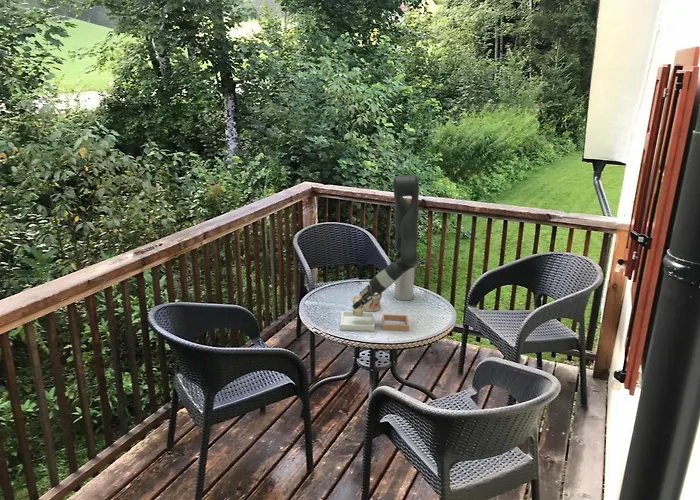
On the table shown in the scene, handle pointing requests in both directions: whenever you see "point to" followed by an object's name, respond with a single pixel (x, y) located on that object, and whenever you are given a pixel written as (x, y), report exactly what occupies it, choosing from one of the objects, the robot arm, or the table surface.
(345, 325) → the pale green tray
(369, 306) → the teacup with lid
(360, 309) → the birch cylinder
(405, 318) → the orange brown tray
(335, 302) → the table surface
